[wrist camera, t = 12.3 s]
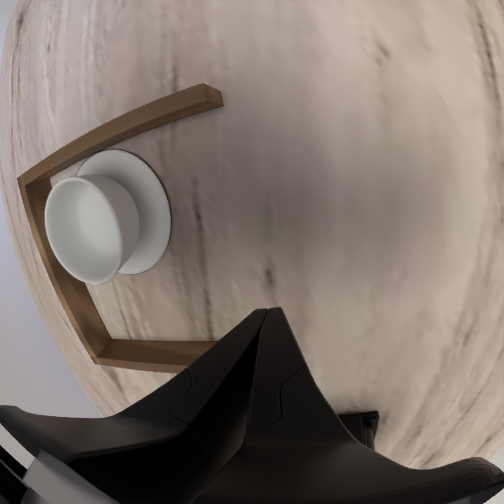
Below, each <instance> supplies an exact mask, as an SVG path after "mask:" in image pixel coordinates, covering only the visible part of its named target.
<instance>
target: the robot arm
mask: <svg viewBox="0 0 504 504" xmlns="http://www.w3.org/2000/svg"><path fill="white" fill-rule="evenodd" d="M378 420H379V413H378V412H371V413H364V414H356V415H348V416H337V414H336V413H335V412H334V410H333V409H332V407H331V406H330V405H329V403H328V402H327V400H326V399H325V398H324V396H323V394H322V393H321V391H320V390H319V388H318V386H317V385H316V383H315V381H314V379H313V377H312V375H311V372H310V370H309V368H308V366H307V364H306V361H305V359H304V357H303V355H302V352H301V350H300V348H299V346H298V343H297V341H296V339H295V336H294V334H293V332H292V330H291V327H290V325H289V323H288V321H287V318H286V316H285V314H284V312H283V309H282V308H281V307H275V308H269V309H267V308H264V309H256V310H254V311H253V312H252V313H251V314H250V315H248V316H247V317H246V318H245V319H244V320H243V321H241V322H240V323H239V324H238V325H237V326H236V327H234V328H233V329H232V330H231V331H230V332H229V333H227V334H226V335H225V336H224V337H223V338H221V339H220V340H219V341H218V342H217V343H215V344H214V345H213V346H212V347H211V348H209V349H208V350H207V351H206V352H205V353H203V354H202V355H201V356H200V357H199V358H197V359H196V360H195V361H194V362H192V363H191V364H190V365H189V366H188V368H185V369H184V370H182V371H181V372H180V373H179V374H177V375H176V376H175V377H173V378H172V379H171V380H169V381H168V382H167V383H165V384H164V385H162V386H161V387H159V388H158V389H156V390H155V391H153V392H152V393H150V394H149V395H147V396H146V397H144V398H142V399H141V400H139V401H138V402H136V403H134V404H133V405H131V406H130V407H128V408H126V409H125V410H123V411H121V412H119V413H118V414H115V415H113V416H110V417H106V418H70V417H55V416H45V415H37V414H32V413H28V412H25V411H23V410H21V409H20V408H18V407H16V406H9V405H0V423H1V424H2V426H3V427H4V428H5V429H6V430H7V431H8V432H9V433H10V434H11V435H12V436H13V437H14V438H15V439H16V440H17V441H18V442H19V443H20V444H21V445H22V446H23V447H24V448H25V449H26V450H27V451H28V452H30V453H31V454H32V455H33V456H34V457H35V459H34V460H33V462H32V463H31V465H30V467H29V468H28V469H26V468H25V467H24V466H23V465H21V464H20V463H19V462H18V461H16V459H14V458H13V457H12V456H11V455H10V454H9V453H8V452H7V451H6V450H5V449H4V448H3V447H2V446H1V445H0V504H483V503H485V502H486V501H488V500H489V499H490V498H491V497H493V496H495V495H496V494H497V493H498V492H500V491H501V490H502V489H503V488H504V472H503V471H501V470H500V468H498V467H497V466H495V465H494V464H492V463H490V462H489V461H487V460H485V459H483V458H481V457H472V458H467V459H464V460H460V461H457V462H454V463H451V464H448V465H445V466H442V467H438V468H433V469H423V470H418V469H411V468H408V467H405V466H402V465H400V464H398V463H396V462H394V461H392V460H390V459H389V458H387V457H385V456H383V455H381V454H379V453H377V452H376V451H375V445H374V439H375V434H376V430H377V425H378Z"/></svg>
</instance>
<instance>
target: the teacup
mask: <svg viewBox="0 0 504 504" xmlns="http://www.w3.org/2000/svg"><path fill="white" fill-rule="evenodd" d="M45 227H46V233H47V237H48V240H49V243H50V246H51V248H52V250H53V252H54V254H55V256H56V257H57V259H58V261H59V262H60V263H61V265H62V266H63V267H64V268H65V269H66V270H67V271H68V272H69V273H70V274H71V275H72V276H74V277H75V278H77V279H78V280H80V281H82V282H85V283H88V284H102V283H105V282H107V281H109V280H110V279H112V278H113V277H114V276H115V275H116V273H120V274H126V275H133V274H139V273H142V272H145V271H147V270H149V269H150V268H152V267H153V266H154V265H155V264H156V263H157V262H158V261H159V260H160V259H161V257H162V256H163V254H164V252H165V250H166V247H167V245H168V241H169V237H170V230H171V216H170V209H169V204H168V200H167V197H166V194H165V191H164V189H163V187H162V185H161V183H160V181H159V179H158V178H157V176H156V175H155V174H154V172H153V171H152V170H151V168H150V167H149V166H148V165H147V164H146V163H144V162H143V161H142V160H141V159H140V158H138V157H137V156H135V155H133V154H131V153H129V152H126V151H122V150H117V149H109V150H104V151H100V152H98V153H96V154H94V155H92V156H91V157H89V158H88V159H87V160H86V161H85V162H84V163H83V164H82V165H81V167H80V168H79V170H78V172H77V173H76V176H73V177H68V178H65V179H63V180H61V181H59V182H58V183H57V184H56V185H55V186H54V187H53V189H52V190H51V192H50V194H49V196H48V199H47V202H46V207H45Z"/></svg>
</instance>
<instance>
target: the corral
mask: <svg viewBox="0 0 504 504" xmlns="http://www.w3.org/2000/svg"><path fill="white" fill-rule="evenodd" d="M221 106H223V101H222V97H221V93H220V91H219V90H217V89H215V88H213V87H210V86H208V85H206V84H204V83H202V84H199V85H196V86H193V87H190V88H187V89H185V90H182V91H179V92H176V93H174V94H171V95H168V96H166V97H163V98H161V99H158V100H156V101H153V102H151V103H148V104H146V105H144V106H141V107H139V108H137V109H135V110H132V111H130V112H128V113H126V114H124V115H122V116H119V117H117V118H115V119H113V120H111V121H109V122H107V123H105V124H103V125H101V126H99V127H98V128H96V129H94V130H92V131H90V132H88V133H86V134H85V135H83V136H81V137H79V138H78V139H76V140H74V141H72V142H71V143H69V144H67V145H66V146H64V147H62V148H61V149H59V150H58V151H56V152H54V153H53V154H51V155H50V156H48V157H47V158H45V159H44V160H42V161H41V162H39V163H38V164H36V165H35V166H33V167H32V168H31V169H29V170H28V171H26V172H25V173H24V174H22V175H21V176H20V177H18V178H17V180H18V185H19V189H20V193H21V197H22V200H23V204H24V208H25V211H26V214H27V218H28V221H29V224H30V227H31V230H32V233H33V236H34V239H35V242H36V245H37V248H38V250H39V253H40V256H41V258H42V261H43V263H44V266H45V268H46V271H47V273H48V276H49V278H50V280H51V282H52V285H53V287H54V289H55V291H56V294H57V296H58V298H59V300H60V302H61V304H62V306H63V308H64V310H65V312H66V314H67V316H68V318H69V320H70V322H71V324H72V326H73V327H74V329H75V331H76V333H77V335H78V337H79V338H80V340H81V342H82V344H83V345H84V347H85V349H86V350H87V352H88V354H89V355H90V357H91V359H92V360H93V362H94V363H95V364H99V365H105V366H112V367H119V368H126V369H134V370H143V371H153V372H164V373H177V374H179V373H180V372H181V371H182V370H184V369H185V368H188V366H189V365H190V364H191V363H192V362H194V361H195V360H196V359H197V358H199V357H200V356H201V355H202V354H203V353H205V352H206V351H207V350H208V349H209V348H211V347H212V346H213V345H214V344H215V343H217V342H218V341H216V342H164V341H135V340H117V339H111V337H110V335H109V333H108V331H107V329H106V328H105V326H104V324H103V322H102V320H101V318H100V316H99V314H98V312H97V310H96V307H95V305H94V303H93V301H92V299H91V297H90V295H89V292H88V290H87V288H86V286H85V283H84V282H82V281H80V280H78V279H77V278H75V277H74V276H72V275H71V274H70V273H69V272H68V271H67V270H66V269H65V268H64V267H63V266H62V265H61V263H60V262H59V261H58V259H57V257H56V256H55V254H54V252H53V250H52V248H51V246H50V243H49V240H48V237H47V233H46V227H45V207H46V202H47V199H48V196H49V194H50V192H51V190H52V188H51V184H50V181H49V178H50V177H51V176H53V175H55V174H57V173H58V172H60V171H62V170H64V169H66V168H67V167H69V166H71V165H73V164H75V163H77V162H79V161H81V160H83V159H85V158H87V157H89V156H91V155H93V154H95V153H97V152H99V151H101V150H104V149H106V148H108V147H110V146H112V145H115V144H117V143H119V142H121V141H124V140H126V139H128V138H131V137H133V136H136V135H138V134H141V133H143V132H146V131H148V130H151V129H153V128H156V127H159V126H161V125H164V124H167V123H170V122H173V121H176V120H179V119H181V118H184V117H188V116H191V115H194V114H197V113H200V112H203V111H207V110H210V109H214V108H217V107H221Z"/></svg>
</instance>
